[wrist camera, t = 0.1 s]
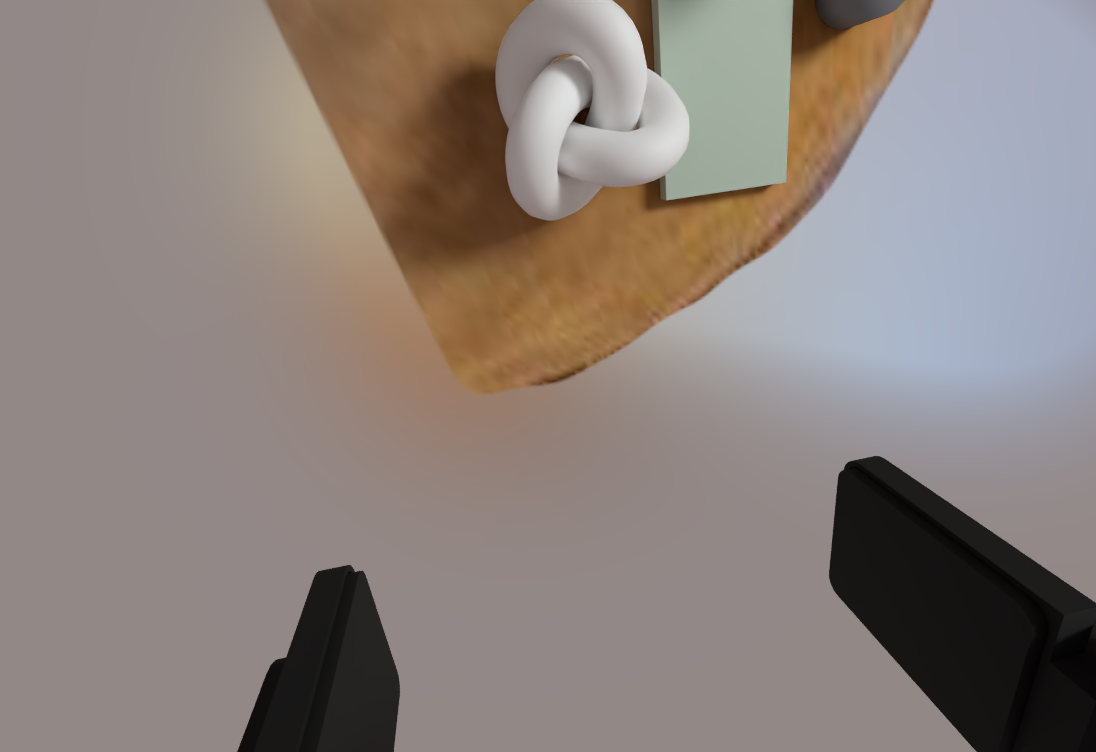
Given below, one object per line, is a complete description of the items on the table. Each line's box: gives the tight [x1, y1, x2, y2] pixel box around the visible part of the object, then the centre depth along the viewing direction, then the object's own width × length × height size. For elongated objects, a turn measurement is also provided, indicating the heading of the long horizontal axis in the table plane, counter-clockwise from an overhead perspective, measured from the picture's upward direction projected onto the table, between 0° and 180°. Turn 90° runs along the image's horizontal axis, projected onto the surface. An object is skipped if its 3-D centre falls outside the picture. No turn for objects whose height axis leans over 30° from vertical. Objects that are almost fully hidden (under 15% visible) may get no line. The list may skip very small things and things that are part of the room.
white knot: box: [495, 0, 690, 221], centre depth 32 cm, size 11×12×9 cm
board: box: [651, 0, 793, 200], centre depth 36 cm, size 13×9×1 cm
